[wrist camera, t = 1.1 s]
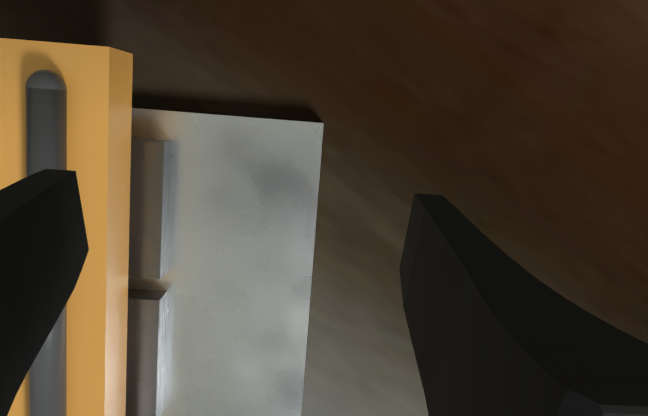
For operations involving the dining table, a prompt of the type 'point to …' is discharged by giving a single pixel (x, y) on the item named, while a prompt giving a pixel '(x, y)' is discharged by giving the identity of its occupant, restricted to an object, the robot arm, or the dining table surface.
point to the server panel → (219, 263)
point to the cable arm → (97, 205)
